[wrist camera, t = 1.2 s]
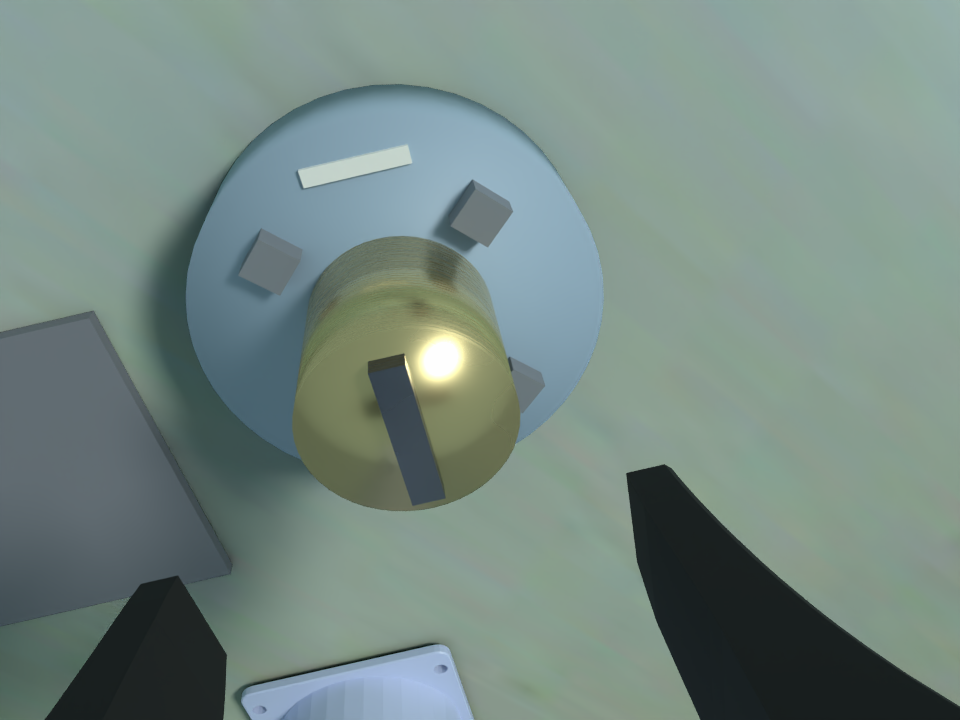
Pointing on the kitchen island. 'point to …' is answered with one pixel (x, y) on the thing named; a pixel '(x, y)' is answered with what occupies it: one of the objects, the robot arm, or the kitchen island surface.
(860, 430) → the kitchen island surface
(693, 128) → the kitchen island surface
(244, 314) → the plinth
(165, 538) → the mat
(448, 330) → the knob
